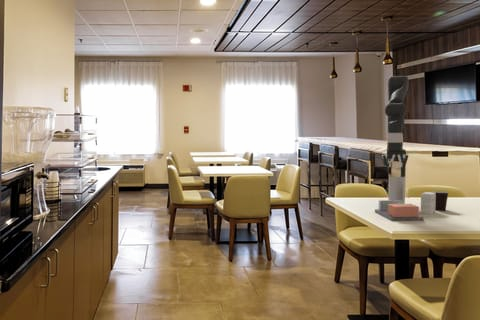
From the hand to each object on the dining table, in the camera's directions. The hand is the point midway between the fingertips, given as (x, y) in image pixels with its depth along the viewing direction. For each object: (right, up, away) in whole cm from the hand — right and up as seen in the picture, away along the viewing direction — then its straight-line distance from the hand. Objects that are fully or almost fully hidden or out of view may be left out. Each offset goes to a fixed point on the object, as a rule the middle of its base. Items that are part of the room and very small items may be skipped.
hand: (394, 174), depth 230 cm
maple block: (0, -1, 0) cm, 1 cm away
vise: (0, -22, -4) cm, 22 cm away
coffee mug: (+31, -20, +14) cm, 39 cm away
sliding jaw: (0, -20, -10) cm, 23 cm away
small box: (+20, -21, +6) cm, 29 cm away
